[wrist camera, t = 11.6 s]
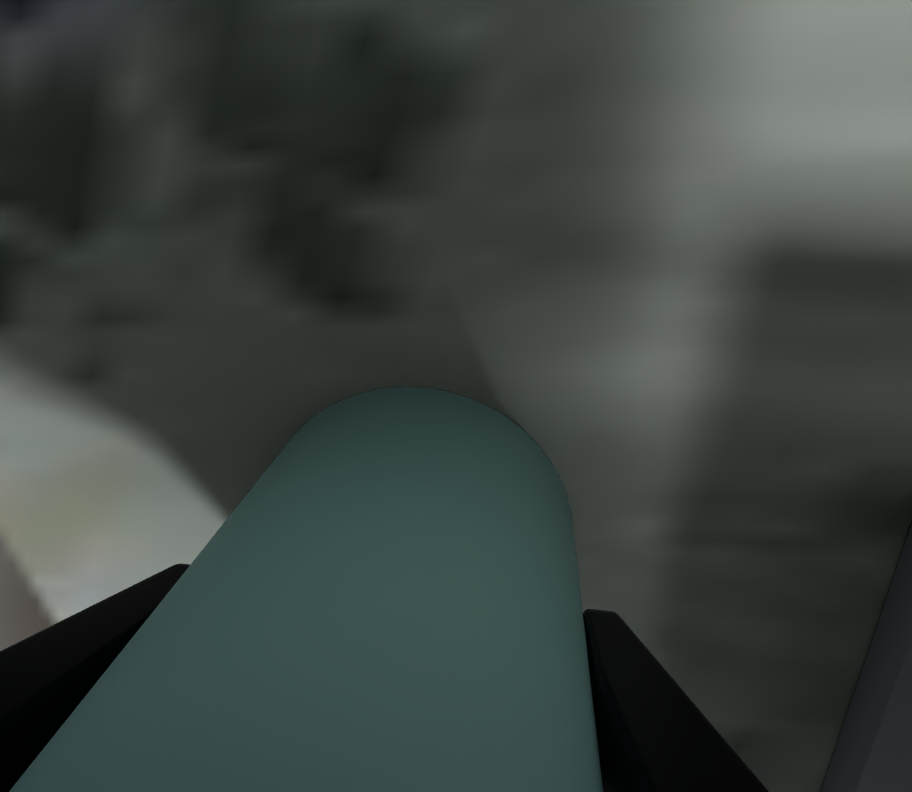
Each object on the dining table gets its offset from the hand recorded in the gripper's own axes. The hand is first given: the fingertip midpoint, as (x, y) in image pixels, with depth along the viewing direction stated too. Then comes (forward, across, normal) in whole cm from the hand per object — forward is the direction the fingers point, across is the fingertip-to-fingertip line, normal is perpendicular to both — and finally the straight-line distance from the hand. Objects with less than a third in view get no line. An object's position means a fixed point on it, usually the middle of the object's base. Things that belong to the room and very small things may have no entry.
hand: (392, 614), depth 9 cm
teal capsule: (+2, 0, 0) cm, 2 cm away
